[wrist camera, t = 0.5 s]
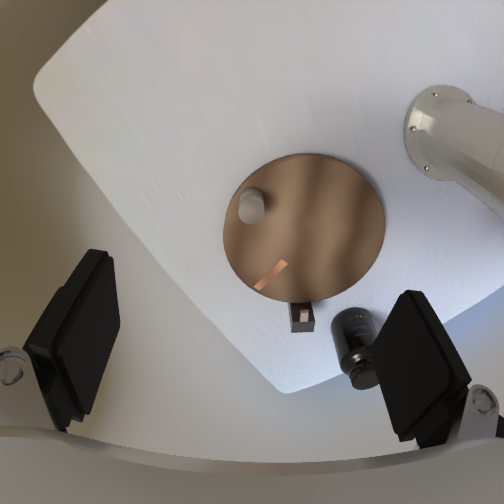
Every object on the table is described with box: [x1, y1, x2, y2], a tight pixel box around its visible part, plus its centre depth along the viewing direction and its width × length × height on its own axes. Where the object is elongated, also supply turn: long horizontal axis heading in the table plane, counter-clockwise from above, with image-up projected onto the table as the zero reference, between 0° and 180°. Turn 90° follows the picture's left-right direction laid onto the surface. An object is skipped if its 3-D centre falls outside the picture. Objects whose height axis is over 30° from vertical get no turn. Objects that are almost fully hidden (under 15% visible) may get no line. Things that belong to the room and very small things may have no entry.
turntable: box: [223, 154, 385, 303], centre depth 38 cm, size 20×20×6 cm
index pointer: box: [288, 302, 315, 333], centre depth 44 cm, size 3×4×6 cm
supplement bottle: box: [331, 308, 379, 390], centre depth 45 cm, size 7×7×12 cm
